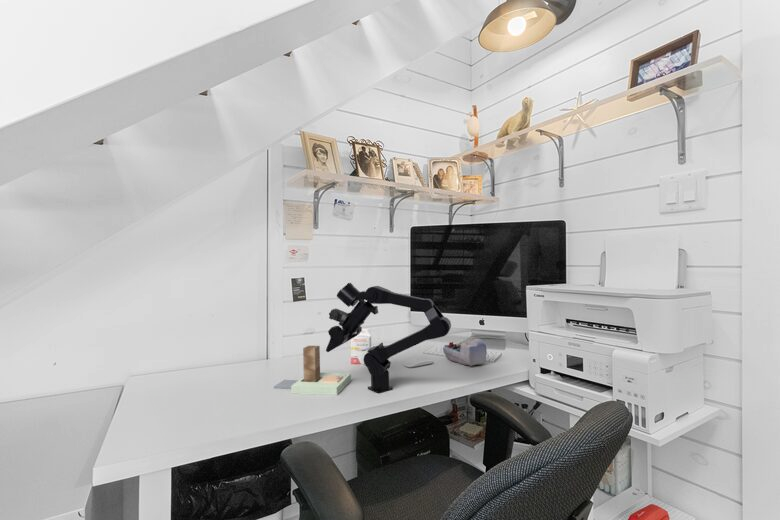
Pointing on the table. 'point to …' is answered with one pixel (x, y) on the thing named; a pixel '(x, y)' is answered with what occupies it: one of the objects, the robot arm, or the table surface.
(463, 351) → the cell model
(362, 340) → the ink cartridge box
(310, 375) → the walnut block
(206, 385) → the table surface
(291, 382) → the grey mat
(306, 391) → the puzzle board
